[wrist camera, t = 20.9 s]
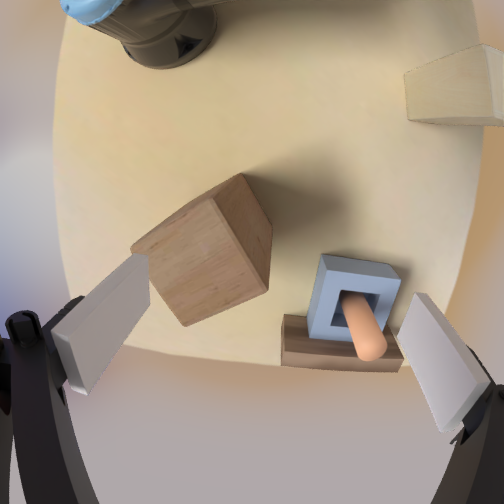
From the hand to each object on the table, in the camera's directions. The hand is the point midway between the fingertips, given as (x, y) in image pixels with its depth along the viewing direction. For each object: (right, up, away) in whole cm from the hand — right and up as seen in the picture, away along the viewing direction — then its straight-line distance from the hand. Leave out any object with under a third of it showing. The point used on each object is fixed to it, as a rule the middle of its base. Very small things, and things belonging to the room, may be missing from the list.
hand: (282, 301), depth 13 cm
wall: (+14, -11, +37) cm, 41 cm away
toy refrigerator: (+26, +26, +22) cm, 43 cm away
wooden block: (-5, +8, +32) cm, 33 cm away
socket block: (+15, -4, +34) cm, 38 cm away
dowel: (+15, -5, +32) cm, 36 cm away
